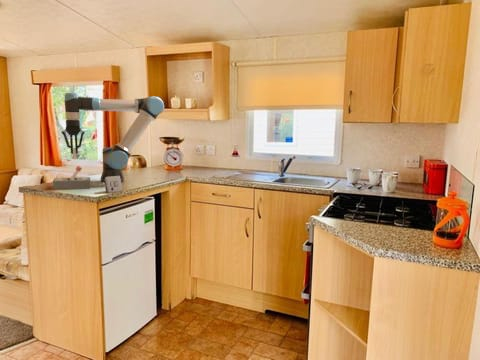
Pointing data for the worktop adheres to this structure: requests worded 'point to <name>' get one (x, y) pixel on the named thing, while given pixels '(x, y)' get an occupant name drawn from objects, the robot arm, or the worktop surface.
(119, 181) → the electrical switch
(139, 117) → the robot arm
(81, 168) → the breaker lever
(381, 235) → the worktop surface
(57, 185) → the box
